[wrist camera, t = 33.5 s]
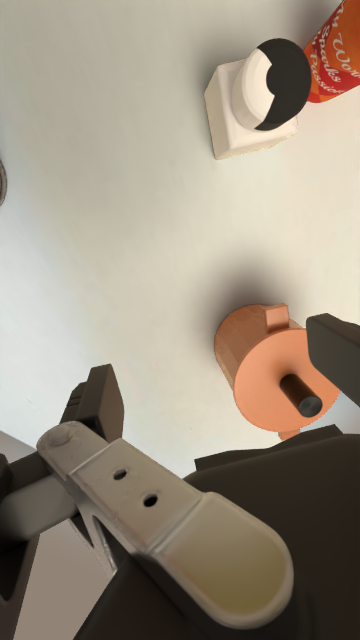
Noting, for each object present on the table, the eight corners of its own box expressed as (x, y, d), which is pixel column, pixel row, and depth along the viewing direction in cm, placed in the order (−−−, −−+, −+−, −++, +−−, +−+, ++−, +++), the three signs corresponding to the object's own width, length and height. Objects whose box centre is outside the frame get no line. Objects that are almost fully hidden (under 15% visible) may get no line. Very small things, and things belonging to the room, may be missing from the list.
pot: (223, 401, 49) (247, 454, 38) (204, 295, 43) (225, 322, 33) (296, 383, 49) (339, 430, 38) (285, 277, 44) (332, 297, 33)
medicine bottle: (263, 78, 36) (318, 15, 25) (272, 147, 39) (326, 118, 27) (202, 92, 36) (230, 35, 25) (214, 161, 38) (245, 137, 27)
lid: (239, 436, 38) (256, 473, 32) (222, 340, 34) (238, 364, 28) (340, 411, 38) (373, 443, 33) (335, 313, 34) (372, 332, 29)
